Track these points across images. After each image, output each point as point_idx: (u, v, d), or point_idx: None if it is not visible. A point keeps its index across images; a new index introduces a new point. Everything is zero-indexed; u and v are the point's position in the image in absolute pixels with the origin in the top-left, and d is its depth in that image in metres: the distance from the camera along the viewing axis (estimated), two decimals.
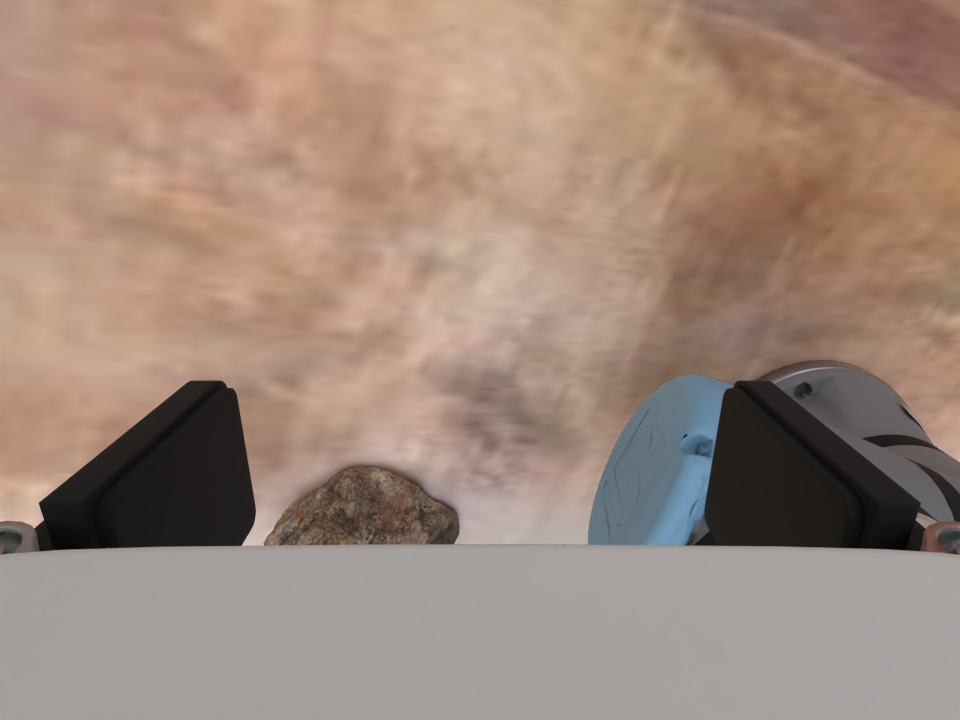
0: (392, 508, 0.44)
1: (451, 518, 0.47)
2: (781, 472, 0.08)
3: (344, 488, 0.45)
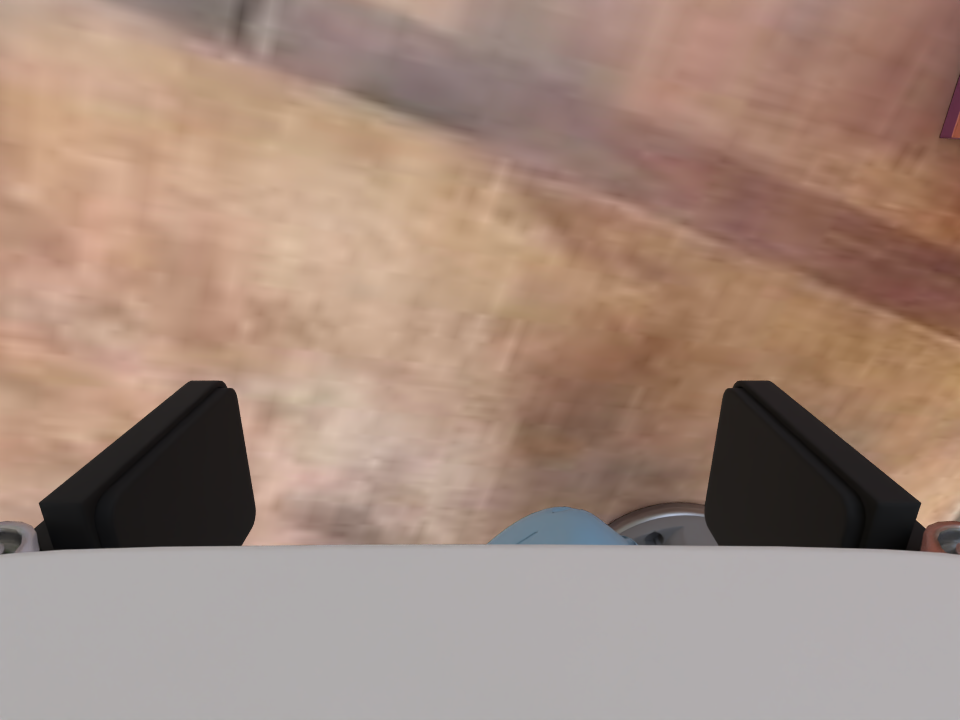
0: None
1: None
2: (781, 472, 0.08)
3: None
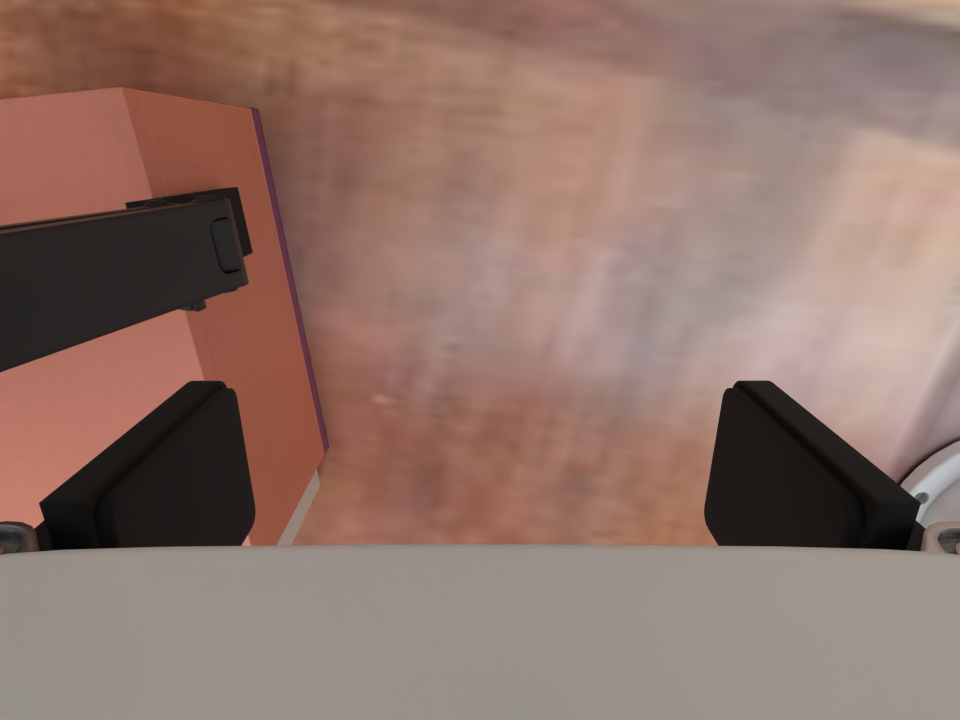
0: None
1: None
2: (781, 472, 0.08)
3: None
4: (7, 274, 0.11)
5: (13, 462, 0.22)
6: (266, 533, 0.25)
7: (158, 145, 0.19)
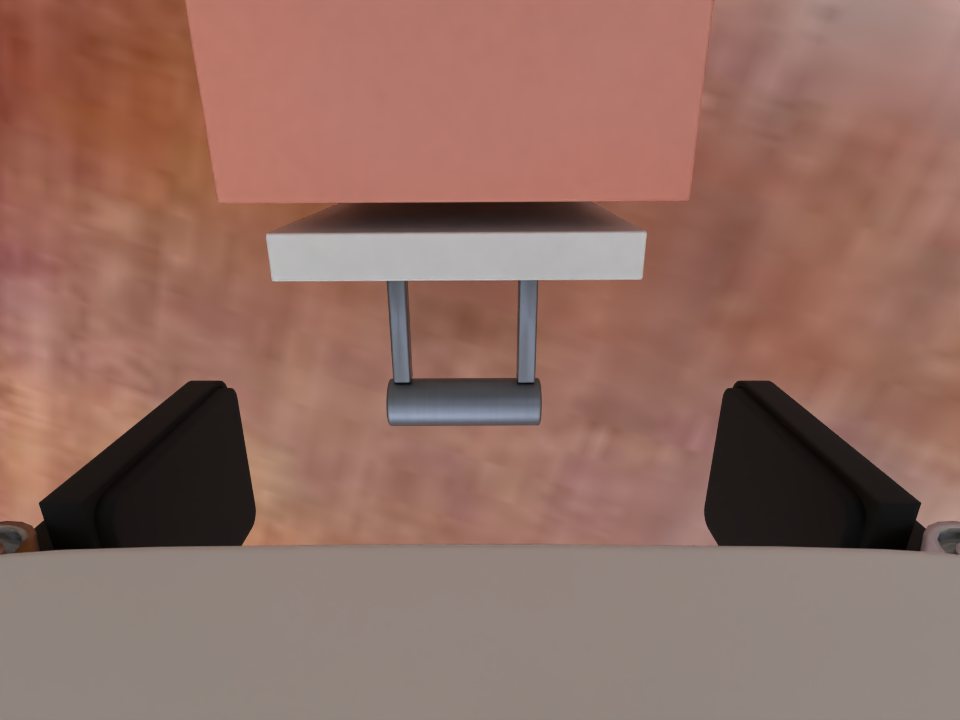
0: None
1: None
2: (781, 472, 0.08)
3: None
4: None
5: None
6: None
7: None
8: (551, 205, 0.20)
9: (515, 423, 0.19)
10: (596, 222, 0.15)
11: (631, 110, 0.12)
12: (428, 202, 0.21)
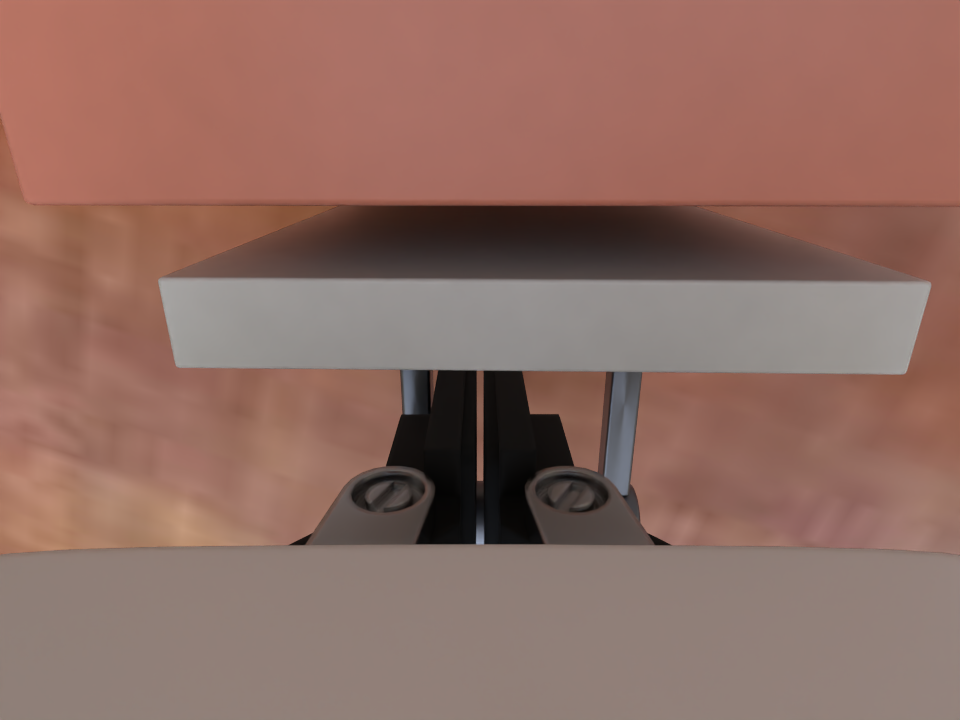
0: None
1: None
2: (484, 432, 0.10)
3: None
4: None
5: None
6: None
7: None
8: (656, 216, 0.12)
9: None
10: (786, 254, 0.08)
11: None
12: (462, 209, 0.14)
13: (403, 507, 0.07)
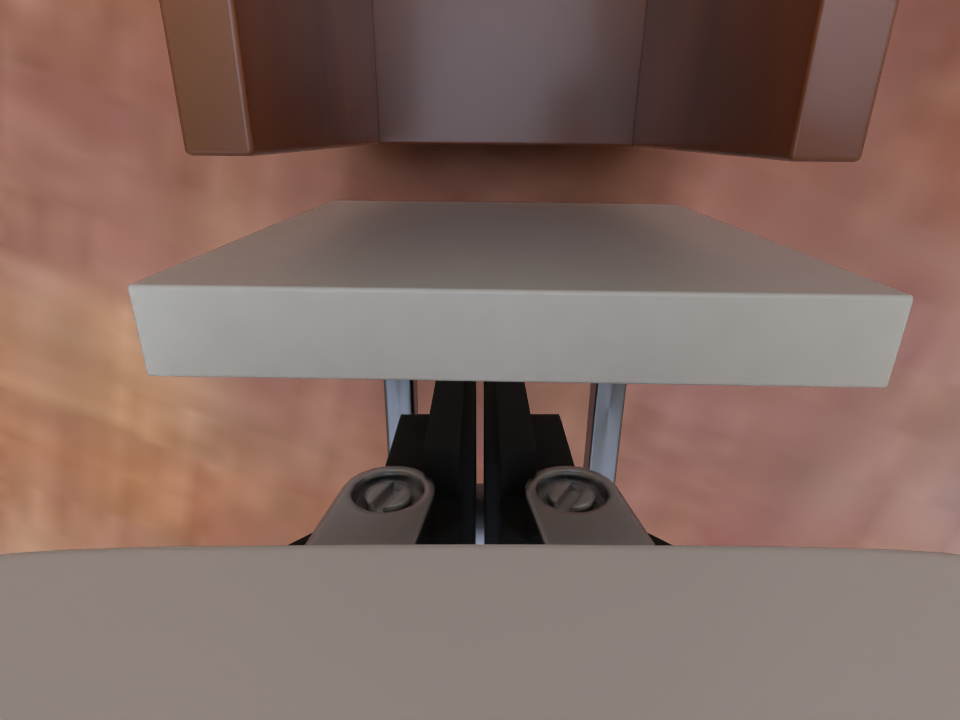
0: None
1: None
2: None
3: None
4: None
5: None
6: None
7: None
8: (644, 218, 0.12)
9: None
10: (770, 263, 0.08)
11: None
12: (449, 208, 0.14)
13: (403, 507, 0.07)
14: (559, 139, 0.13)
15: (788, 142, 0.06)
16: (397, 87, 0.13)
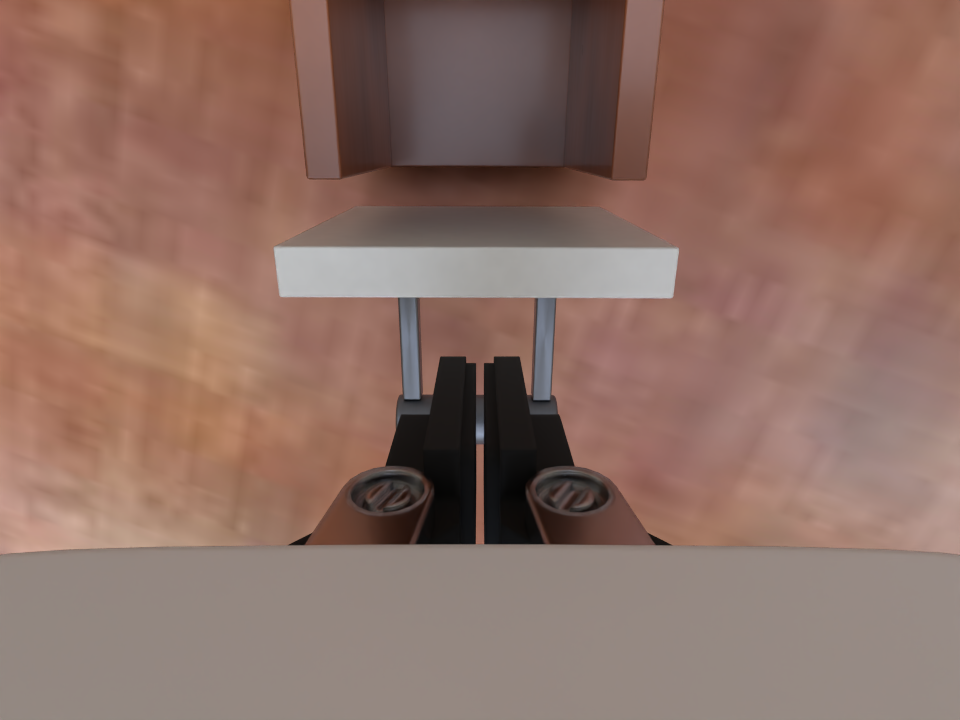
0: None
1: None
2: None
3: None
4: None
5: None
6: None
7: None
8: (569, 215, 0.19)
9: None
10: (622, 236, 0.14)
11: None
12: (439, 210, 0.20)
13: (402, 507, 0.07)
14: (514, 163, 0.20)
15: (610, 171, 0.13)
16: (404, 129, 0.19)
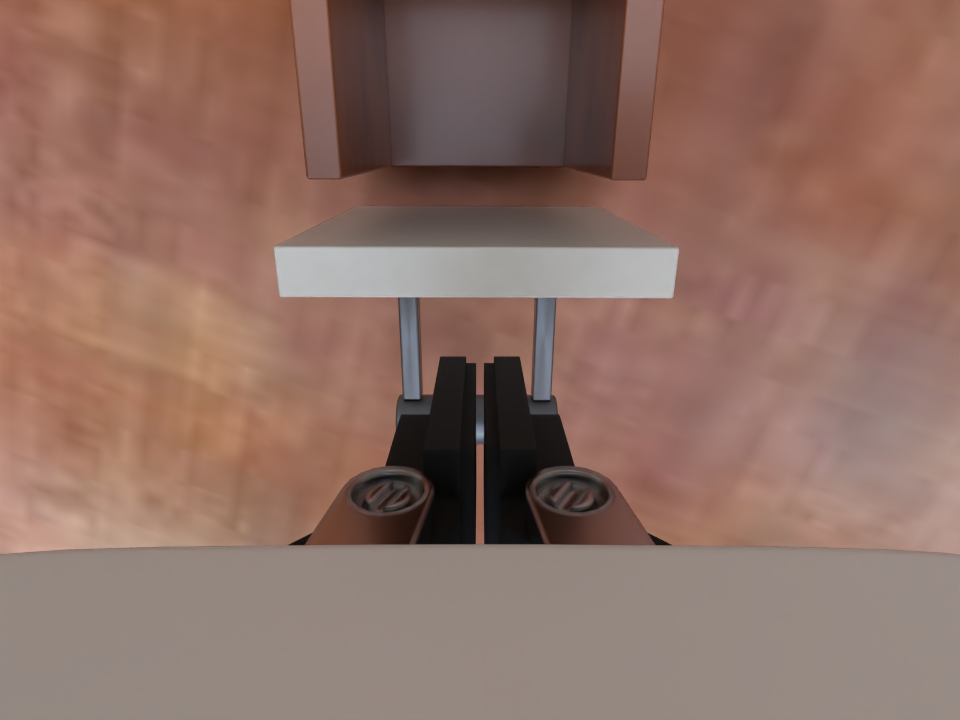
0: None
1: None
2: None
3: None
4: None
5: None
6: None
7: None
8: (569, 215, 0.19)
9: None
10: (622, 236, 0.14)
11: None
12: (439, 210, 0.20)
13: (402, 507, 0.07)
14: (514, 163, 0.20)
15: (610, 171, 0.13)
16: (404, 129, 0.19)
